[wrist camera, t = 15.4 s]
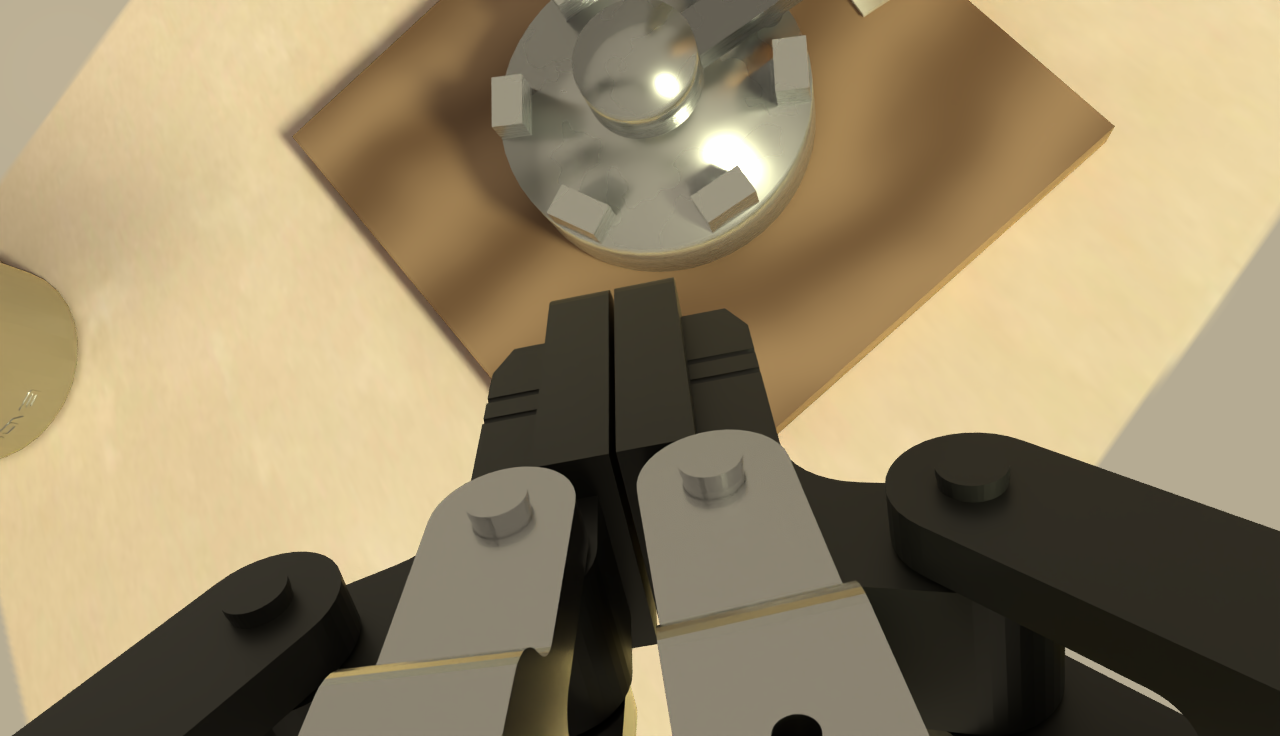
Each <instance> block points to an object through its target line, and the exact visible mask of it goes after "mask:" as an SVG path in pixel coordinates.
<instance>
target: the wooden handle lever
mask: <svg viewBox="0 0 1280 736" xmlns="http://www.w3.org/2000/svg"><path fill="white" fill-rule="evenodd" d="M801 1H803V0H551V1H550V2H549V3H548V4H547V5H546V6H545V7H544V8H543V9H542V10H541V11H540V12H539V14H538V15H537V16H536V17H535V19H534V20H533V21H532V22H531V24H530V25H529V26H528V28H527V30H526V31H525V33H524V34H523V36H522V38H521V39H520V41H519V43H518V45H517V47H516V49H515V51H514V53H513V56H512V58H511V60H510V63H509V66H508V69H507V72H506V75H505V76H500V77H492V78H491V86H492V128H493V129H494V130H495V131H496V133H497V134H498V135H499V136H500V137H501V138H502V140H503V145H504V149H505V154H506V156H507V159H508V162H509V164H510V167H511V170H512V172H513V174H514V176H515V177H516V179H517V181H518V183H519V185H520V187H521V188H522V189H523V191H524V192H525V193H526V195H527V196H528V197H529V199H530V200H531V202H532V203H533V204H534V205H535V206H536V207H537V208H538V209H539V210H540V211H541V213H542V214H543V215H544V216H545V217H546V218H547V219H548V220H549V221H550V222H551V223H552V225H553V226H554V227H555V228H556V229H557V230H558V231H559V232H560V233H561V234H562V235H563V236H564V237H565V238H566V239H567V240H569V241H570V242H571V243H573V244H574V245H575V246H577V247H578V248H579V249H581V250H582V251H584V252H586V253H587V254H589V255H591V256H593V257H595V258H596V259H599V260H601V261H604V262H606V263H609V264H612V265H614V266H618V267H622V268H626V269H631V270H637V271H647V272H670V271H678V270H684V269H690V268H694V267H698V266H701V265H705V264H708V263H711V262H713V261H716V260H718V259H720V258H723V257H725V256H727V255H730V254H731V253H733V252H735V251H736V250H738V249H740V248H742V247H743V246H745V245H747V244H748V243H749V242H751V241H752V240H753V239H754V238H756V237H757V236H758V235H760V234H761V233H762V232H763V231H764V230H765V229H766V228H767V227H769V226H770V225H771V224H772V223H773V222H774V221H775V220H776V219H777V218H778V216H779V215H780V214H781V212H782V211H783V210H784V209H785V207H786V206H787V205H788V204H789V202H790V201H791V199H792V197H793V196H794V194H795V192H796V191H797V189H798V187H799V186H800V184H801V181H802V179H803V177H804V174H805V172H806V170H807V167H808V164H809V160H810V157H811V153H812V150H813V144H814V137H815V101H814V91H813V80H812V72H811V65H810V58H809V54H808V51H807V41H806V35H802V33H801V31H800V29H799V27H798V25H797V22H796V20H795V19H794V17H793V16H792V14H791V13H790V11H789V10H790V9H791V8H793V7H794V6H796V5H797V4H798V3H800V2H801Z"/></svg>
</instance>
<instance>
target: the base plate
mask: <svg viewBox="0 0 1280 736" xmlns="http://www.w3.org/2000/svg"><path fill="white" fill-rule="evenodd" d="M550 1H551V0H440V1H439V2H437V3H436V4H435V5H434V6H433V7H432V8H431V9H430V10H429V11H428V12H427V13H426V14H425V15H423V16H422V17H421V18H420V19H419V20H418V21H417V22H416V23H415V24H414V25H413V26H412V27H410V28H409V29H408V30H407V31H406V32H405V33H404V34H403V35H402V36H401V37H400V38H399V39H397V40H396V41H395V42H394V43H393V44H392V45H391V46H390V47H389V48H388V49H387V50H386V51H384V52H383V53H382V54H381V55H380V56H379V57H378V58H377V59H376V60H375V61H374V62H373V63H371V64H370V65H369V66H368V67H367V68H366V69H365V70H364V71H363V72H362V73H361V74H360V75H358V76H357V77H356V78H355V79H354V80H353V81H352V82H351V83H350V84H349V85H348V86H347V87H345V88H344V89H343V90H342V91H341V92H340V93H339V94H338V95H337V96H336V97H335V98H334V99H332V100H331V101H330V102H329V103H328V104H327V105H326V106H325V107H324V108H323V109H322V110H321V111H319V112H318V113H317V114H316V115H315V116H314V117H313V118H312V119H311V120H310V121H309V122H308V123H306V124H305V125H304V126H303V127H302V128H301V129H300V130H299V131H298V132H297V133H296V134H295V135H293V136H292V137H293V138H294V139H295V140H296V142H297V143H298V144H299V145H300V147H301V148H302V149H303V150H304V151H305V153H306V154H307V155H308V156H309V157H310V159H311V160H312V161H313V162H314V164H315V165H316V166H317V167H318V168H319V170H320V171H321V172H322V173H323V174H324V176H325V177H326V178H327V179H328V181H329V182H330V183H331V184H332V185H333V187H334V188H335V189H336V190H337V192H338V193H339V194H340V195H341V196H342V198H343V199H344V200H345V201H346V202H347V204H348V205H349V206H350V207H351V209H352V210H353V211H354V212H355V213H356V215H357V216H358V217H359V218H360V219H361V221H362V222H363V223H364V224H365V226H366V227H367V228H368V229H369V230H370V232H371V233H372V234H373V235H374V236H375V238H376V239H377V240H378V241H379V243H380V244H381V245H382V246H383V247H384V249H385V250H386V251H387V252H388V254H389V255H390V256H391V257H392V258H393V260H394V261H395V262H396V263H397V264H398V266H399V267H400V268H401V269H402V271H403V272H404V273H405V274H406V275H407V277H408V278H409V279H410V280H411V281H412V283H413V284H414V285H415V286H416V288H417V289H418V290H419V291H420V292H421V294H422V295H423V296H424V297H425V298H426V300H427V301H428V302H429V303H430V305H431V306H432V307H433V308H434V309H435V311H436V312H437V313H438V314H439V316H440V317H441V318H442V319H443V320H444V322H445V323H446V324H447V325H448V326H449V328H450V329H451V330H452V331H453V333H454V334H455V335H456V336H457V337H458V339H459V340H460V341H461V342H462V343H463V345H464V346H465V347H466V348H467V350H468V351H469V352H470V353H471V354H472V356H473V357H474V358H475V359H476V360H477V362H478V363H479V364H480V365H481V367H482V368H483V369H484V370H485V371H486V373H487V374H488V375H489V376H490V378H491V379H492V375H493V373H494V372H495V371H496V370H497V368H498V367H499V366H500V365H501V364H502V363H503V361H504V360H505V359H506V358H507V357H508V356H509V355H510V353H511V352H512V351H513V350H514V349H517V348H522V347H527V346H533V345H538V344H543V343H545V336H546V328H547V319H548V311H549V304H550V302H551V301H556V300H561V299H566V298H571V297H576V296H581V295H586V294H591V293H596V292H602V291H607V290H610V291H611V293H612V296H613V299H614V289H616V288H621V287H626V286H631V285H636V284H641V283H646V282H652V281H657V280H662V279H667V278H672V277H674V280H675V284H676V289H677V293H678V298H679V303H680V308H681V313H682V316H687V315H692V314H697V313H702V312H707V311H713V310H718V309H723V308H725V309H727V310H728V311H730V312H731V313H732V314H734V315H735V316H737V317H738V318H739V319H741V320H742V321H744V322H745V323H746V324H748V327H749V330H750V334H751V338H752V342H753V345H754V350H755V353H756V356H757V360H758V364H759V368H760V372H761V375H762V379H763V382H764V386H765V390H766V394H767V397H768V401H769V405H770V408H771V412H772V416H773V420H774V423H775V427H776V431H777V434H778V433H779V432H780V431H781V430H783V429H784V428H785V427H786V426H787V425H788V424H789V423H790V422H792V421H793V420H794V419H795V418H796V417H797V416H798V415H799V414H801V413H802V412H803V411H804V410H805V409H806V408H807V407H808V406H810V405H811V404H812V403H813V402H814V401H815V400H816V399H817V398H819V397H820V396H821V395H822V394H823V393H824V392H825V391H826V390H828V389H829V388H830V387H831V386H832V385H833V384H834V383H835V382H837V381H838V380H839V379H840V378H841V377H842V376H843V375H844V374H846V373H847V372H848V371H849V370H850V369H851V368H852V367H853V366H855V365H856V364H857V363H858V362H859V361H860V360H861V359H862V358H863V357H865V356H866V355H867V354H868V353H869V352H870V351H871V350H872V349H874V348H875V347H876V346H877V345H878V344H879V343H880V342H881V341H883V340H884V339H885V338H886V337H887V336H888V335H889V334H890V333H892V332H893V331H894V330H895V329H896V328H897V327H898V326H899V325H901V324H902V323H903V322H904V321H905V320H906V319H907V318H908V317H910V316H911V315H912V314H913V313H914V312H915V311H916V310H917V309H919V308H920V307H921V306H922V305H923V304H924V303H925V302H926V301H928V300H929V299H930V298H931V297H932V296H933V295H934V294H935V293H937V292H938V291H939V290H940V289H941V288H942V287H943V286H944V285H946V284H947V283H948V282H949V281H950V280H951V279H952V278H953V277H955V276H956V275H957V274H958V273H959V272H960V271H961V270H962V269H964V268H965V267H966V266H967V265H968V264H969V263H970V262H971V261H972V260H974V259H975V258H976V257H977V256H978V255H979V254H980V253H981V252H983V251H984V250H985V249H986V248H987V247H988V246H989V245H990V244H992V243H993V242H994V241H995V240H996V239H997V238H998V237H999V236H1001V235H1002V234H1003V233H1004V232H1005V231H1006V230H1007V229H1008V228H1010V227H1011V226H1012V225H1013V224H1014V223H1015V222H1016V221H1017V220H1019V219H1020V218H1021V217H1022V216H1023V215H1024V214H1025V213H1026V212H1028V211H1029V210H1030V209H1031V208H1032V207H1033V206H1034V205H1035V204H1037V203H1038V202H1039V201H1040V200H1041V199H1042V198H1043V197H1044V196H1046V195H1047V194H1048V193H1049V192H1050V191H1051V190H1052V189H1053V188H1055V187H1056V186H1057V185H1058V184H1059V183H1060V182H1061V181H1062V180H1064V179H1065V178H1066V177H1067V176H1068V175H1069V174H1070V173H1071V172H1073V171H1074V170H1075V169H1076V168H1077V167H1078V166H1079V165H1080V164H1082V163H1083V162H1084V161H1085V160H1086V159H1087V158H1088V157H1089V156H1090V155H1092V154H1093V153H1094V152H1095V151H1096V150H1097V149H1098V148H1099V147H1101V146H1102V145H1103V144H1104V143H1105V142H1106V140H1107V139H1108V137H1109V135H1110V134H1111V132H1112V130H1113V128H1114V127H1115V126H1114V125H1113V124H1111V123H1110V122H1109V121H1108V120H1107V119H1106V118H1104V117H1103V116H1102V115H1101V114H1100V113H1099V112H1097V111H1096V110H1095V109H1094V108H1093V107H1092V106H1090V105H1089V104H1088V103H1087V102H1086V101H1085V100H1084V99H1082V98H1081V97H1080V96H1079V95H1078V94H1077V93H1075V92H1074V91H1073V90H1072V89H1071V88H1070V87H1068V86H1067V85H1066V84H1065V83H1064V82H1063V81H1061V80H1060V79H1059V78H1058V77H1057V76H1056V75H1054V74H1053V73H1052V72H1051V71H1050V70H1049V69H1048V68H1046V67H1045V66H1044V65H1043V64H1042V63H1041V62H1039V61H1038V60H1037V59H1036V58H1035V57H1034V56H1032V55H1031V54H1030V53H1029V52H1028V51H1027V50H1025V49H1024V48H1023V47H1022V46H1021V45H1020V44H1018V43H1017V42H1016V41H1015V40H1014V39H1013V38H1012V37H1010V36H1009V35H1008V34H1007V33H1006V32H1005V31H1003V30H1002V29H1001V28H1000V27H999V26H998V25H996V24H995V23H994V22H993V21H992V20H991V19H989V18H988V17H987V16H986V15H985V14H984V13H982V12H981V11H980V10H979V9H978V8H977V7H976V6H974V5H973V4H972V3H971V2H970V1H969V0H803V1H801V2H800V3H798V4H797V5H796V6H794V7H793V8H791V9H790V10H789V11H790V13H791V14H792V16H793V17H794V19H795V20H796V22H797V25H798V27H799V29H800V31H801V33H802V35H806V41H807V51H808V54H809V58H810V65H811V72H812V80H813V91H814V101H815V137H814V144H813V150H812V153H811V157H810V160H809V164H808V167H807V170H806V172H805V174H804V177H803V179H802V181H801V184H800V186H799V187H798V189H797V191H796V192H795V194H794V196H793V197H792V199H791V201H790V202H789V204H788V205H787V206H786V207H785V209H784V210H783V211H782V212H781V214H780V215H779V216H778V218H777V219H776V220H775V221H774V222H773V223H772V224H771V225H770V226H769V227H767V228H766V229H765V230H764V231H763V232H762V233H761V234H760V235H758V236H757V237H756V238H754V239H753V240H752V241H751V242H749V243H748V244H747V245H745V246H743V247H742V248H740V249H738V250H736V251H735V252H733V253H731V254H730V255H727V256H725V257H723V258H720V259H718V260H716V261H713V262H711V263H708V264H705V265H701V266H698V267H694V268H690V269H684V270H678V271H670V272H647V271H637V270H631V269H626V268H622V267H618V266H614V265H612V264H609V263H606V262H604V261H601V260H599V259H596V258H595V257H593V256H591V255H589V254H587V253H586V252H584V251H582V250H581V249H579V248H578V247H577V246H575V245H574V244H573V243H571V242H570V241H569V240H567V239H566V238H565V237H564V236H563V235H562V234H561V233H560V232H559V231H558V230H557V229H556V228H555V227H554V226H553V225H552V223H551V222H550V221H549V220H548V219H547V218H546V217H545V216H544V215H543V214H542V213H541V211H540V210H539V209H538V208H537V207H536V206H535V205H534V204H533V203H532V202H531V200H530V199H529V197H528V196H527V195H526V193H525V192H524V191H523V189H522V188H521V187H520V185H519V183H518V181H517V179H516V177H515V176H514V174H513V172H512V170H511V167H510V164H509V162H508V159H507V156H506V154H505V149H504V145H503V140H502V138H501V137H500V136H499V135H498V134H497V133H496V131H495V130H494V129H493V128H492V86H491V78H492V77H500V76H505V75H506V72H507V69H508V66H509V63H510V60H511V58H512V56H513V53H514V51H515V49H516V47H517V45H518V43H519V41H520V39H521V38H522V36H523V34H524V33H525V31H526V30H527V28H528V26H529V25H530V24H531V22H532V21H533V20H534V19H535V17H536V16H537V15H538V14H539V12H540V11H541V10H542V9H543V8H544V7H545V6H546V5H547V4H548V3H549V2H550Z"/></svg>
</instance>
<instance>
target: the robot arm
mask: <svg viewBox="0 0 1280 736" xmlns="http://www.w3.org/2000/svg"><path fill="white" fill-rule="evenodd" d="M77 347H78V341H77V335H76V329H75V323H74V320H73V318H72V315H71V313H70V310H69V308H68V305H67V304H66V302H65V301H64V300H63V298H62V297H61V295H60V294H59V292H58V291H57V290H56V289H55V288H53V287H52V286H51V285H50V284H49V283H48V282H46V281H45V280H44V279H42V278H40V277H37V276H35V275H33V274H31V273H29V272H26V271H23V270H20V269H17V268H14V267H12V266H9V265H6V264H3V263H2V262H1V261H0V458H3V457H6V456H9V455H11V454H13V453H15V452H17V451H19V450H21V449H23V448H24V447H26V446H27V445H28V444H30V443H31V442H32V441H34V440H35V439H36V438H37V437H39V436H40V435H41V434H42V433H43V431H44V430H45V429H46V428H47V427H48V426H49V425H50V424H51V423H52V421H53V420H54V419H55V417H56V415H57V414H58V412H59V411H60V409H61V407H62V406H63V404H64V403H65V400H66V398H67V395H68V393H69V390H70V388H71V385H72V383H73V379H74V374H75V369H76V365H77ZM488 402H489V403H487V405H486V410H485V415H484V424H482V429H481V434H480V439H479V444H478V449H477V454H476V459H475V464H474V469H473V474H472V478H471V481H470V482H468V483H466V484H464V485H463V486H461V487H459V488H458V489H456V490H455V491H453V492H452V493H451V494H450V495H448V496H447V497H446V498H445V499H444V500H443V501H442V502H441V503H440V504H439V505H438V506H437V507H436V509H435V510H434V512H433V513H432V515H431V517H430V519H429V521H428V523H427V526H426V529H425V531H424V534H423V537H422V540H421V543H420V545H419V548H418V551H417V554H416V556H414V557H412V558H411V559H409V560H406V561H404V562H402V563H400V564H398V565H395V566H393V567H390V568H388V569H385V570H383V571H380V572H378V573H375V574H373V575H370V576H368V577H365V578H363V579H360V580H358V581H355V582H353V583H350V584H348V585H346V584H345V582H344V580H343V577H342V575H341V573H340V571H339V568H338V566H337V565H336V564H335V563H334V562H333V561H332V560H331V559H330V558H328V557H326V556H324V555H321V554H318V553H312V552H291V553H284V554H279V555H275V556H271V557H268V558H265V559H262V560H259V561H256V562H254V563H252V564H249V565H247V566H245V567H243V568H241V569H239V570H237V571H236V572H234V573H232V574H230V575H229V576H227V577H226V578H224V579H223V580H221V581H220V582H218V583H217V584H216V585H214V586H213V587H211V588H210V589H209V590H207V591H206V592H205V593H203V594H202V595H201V596H199V597H198V598H197V599H195V600H194V601H193V602H191V603H190V604H189V605H187V606H186V607H185V608H183V609H182V610H181V611H179V612H178V613H176V614H175V615H174V616H172V617H171V618H170V619H168V620H167V621H166V622H164V623H163V624H162V625H160V626H159V627H158V628H156V629H155V630H154V631H152V632H151V633H150V634H148V635H147V636H146V637H144V638H143V639H141V640H140V641H139V642H137V643H136V644H135V645H133V646H132V647H131V648H129V649H128V650H127V651H125V652H124V653H123V654H121V655H120V656H119V657H117V658H116V659H115V660H113V661H112V662H111V663H109V664H108V665H107V666H105V667H104V668H102V669H101V670H100V671H98V672H97V673H96V674H94V675H93V676H92V677H90V678H89V679H88V680H86V681H85V682H84V683H82V684H81V685H80V686H78V687H77V688H76V689H74V690H73V691H72V692H70V693H69V694H67V695H66V696H65V697H63V698H62V699H61V700H59V701H58V702H57V703H55V704H54V705H53V706H51V707H50V708H49V709H47V710H46V711H45V712H43V713H42V714H41V715H39V716H38V717H37V718H35V719H34V720H32V721H31V722H30V723H28V724H27V725H26V726H24V727H23V728H22V729H20V730H19V731H18V732H16V733H15V734H14V735H12V736H636V727H637V707H636V703H635V700H634V696H633V693H632V689H631V686H630V685H631V682H632V648H636V647H642V646H648V645H654V644H658V650H659V656H660V662H661V669H662V675H663V681H664V687H665V693H666V699H667V705H668V711H669V717H670V723H671V729H672V736H1280V531H1278V530H1275V529H1272V528H1269V527H1266V526H1263V525H1261V524H1258V523H1255V522H1252V521H1249V520H1246V519H1244V518H1241V517H1238V516H1235V515H1232V514H1229V513H1226V512H1224V511H1221V510H1218V509H1215V508H1212V507H1209V506H1206V505H1204V504H1201V503H1198V502H1195V501H1192V500H1190V499H1187V498H1184V497H1181V496H1178V495H1175V494H1173V493H1170V492H1167V491H1164V490H1161V489H1158V488H1156V487H1153V486H1150V485H1147V484H1144V483H1141V482H1139V481H1135V480H1133V479H1130V478H1127V477H1124V476H1121V475H1119V474H1116V473H1113V472H1110V471H1107V470H1105V469H1102V468H1099V467H1096V466H1093V465H1090V464H1088V463H1085V462H1082V461H1079V460H1076V459H1073V458H1071V457H1068V456H1065V455H1062V454H1059V453H1056V452H1054V451H1051V450H1048V449H1045V448H1042V447H1039V446H1037V445H1034V444H1031V443H1028V442H1025V441H1022V440H1019V439H1016V438H1012V437H1009V436H1003V435H998V434H990V433H960V434H951V435H946V436H941V437H937V438H934V439H931V440H927V441H924V442H922V443H920V444H918V445H916V446H914V447H912V448H910V449H909V450H907V451H906V452H904V453H903V454H902V455H901V456H899V457H898V458H897V459H896V460H895V461H894V463H893V464H892V465H891V467H890V468H889V471H888V473H887V475H886V481H885V483H863V482H847V481H840V480H834V479H829V478H825V477H822V476H818V475H815V474H813V473H811V472H808V471H806V470H804V469H803V468H801V467H799V466H798V465H796V464H795V463H794V462H793V461H791V460H790V458H789V456H788V454H787V452H786V451H785V449H784V448H783V447H782V446H781V445H780V442H779V438H778V434H777V431H776V427H775V423H774V420H773V416H772V412H771V408H770V405H769V401H768V397H767V394H766V390H765V386H764V382H763V379H762V375H761V372H760V368H759V364H758V360H757V356H756V353H755V350H754V345H753V342H752V338H751V334H750V330H749V327H748V324H746V323H745V322H744V321H742V320H741V319H739V318H738V317H737V316H735V315H734V314H732V313H731V312H730V311H728V310H727V309H725V308H723V309H718V310H713V311H707V312H702V313H697V314H692V315H687V316H682V313H681V308H680V303H679V298H678V293H677V289H676V284H675V280H674V277H672V278H667V279H662V280H657V281H652V282H646V283H641V284H636V285H631V286H626V287H621V288H616V289H614V299H613V296H612V293H611V291H610V290H607V291H602V292H596V293H591V294H586V295H581V296H576V297H571V298H566V299H561V300H556V301H551V302H550V304H549V311H548V319H547V328H546V336H545V343H543V344H538V345H533V346H527V347H522V348H517V349H514V350H513V351H512V352H511V353H510V355H509V356H508V357H507V358H506V359H505V360H504V361H503V363H502V364H501V365H500V366H499V367H498V368H497V370H496V371H495V372H494V373H493V375H492V380H491V385H490V390H489V395H488ZM656 610H657V614H658V618H659V623H660V625H657V616H656ZM1065 647H1066V648H1068V649H1070V650H1072V651H1074V652H1076V653H1078V654H1080V655H1082V656H1084V657H1086V658H1088V659H1090V660H1092V661H1094V662H1096V663H1098V664H1100V665H1102V666H1104V667H1106V668H1108V669H1110V670H1112V671H1114V672H1116V673H1118V674H1120V675H1122V676H1124V677H1126V678H1128V679H1130V680H1132V681H1134V682H1136V683H1138V684H1140V685H1142V686H1144V687H1146V688H1148V689H1150V690H1152V691H1153V692H1155V693H1157V694H1159V695H1160V696H1162V697H1163V698H1165V699H1166V700H1168V701H1169V702H1170V703H1171V704H1172V705H1174V706H1175V707H1176V708H1177V709H1178V710H1179V711H1180V712H1181V713H1182V714H1183V715H1182V714H1180V713H1178V712H1176V711H1174V710H1172V709H1170V708H1169V707H1166V706H1164V705H1162V704H1161V703H1159V702H1157V701H1155V700H1153V699H1151V698H1149V697H1147V696H1145V695H1143V694H1141V693H1139V692H1137V691H1135V690H1133V689H1131V688H1129V687H1127V686H1125V685H1123V684H1121V683H1119V682H1117V681H1115V680H1113V679H1111V678H1109V677H1107V676H1105V675H1103V674H1101V673H1099V672H1097V671H1095V670H1093V669H1092V668H1090V667H1088V666H1086V665H1084V664H1082V663H1080V662H1078V661H1076V660H1074V659H1072V658H1070V657H1068V656H1066V655H1065Z"/></svg>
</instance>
